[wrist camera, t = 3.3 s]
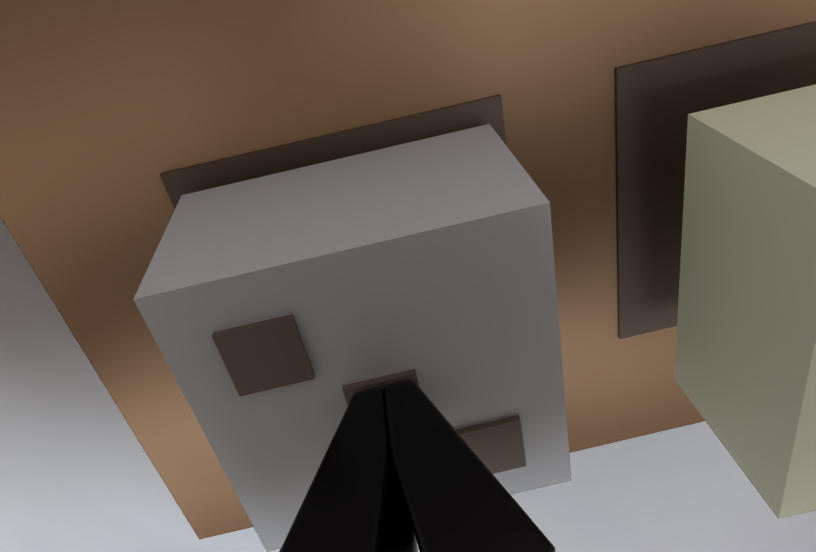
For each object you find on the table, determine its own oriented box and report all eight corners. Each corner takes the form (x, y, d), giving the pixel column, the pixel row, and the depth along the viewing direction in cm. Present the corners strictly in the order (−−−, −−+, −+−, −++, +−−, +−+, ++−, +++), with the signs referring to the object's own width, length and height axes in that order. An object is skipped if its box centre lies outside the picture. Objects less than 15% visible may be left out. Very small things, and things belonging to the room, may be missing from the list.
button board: (1233, 276, 15) (1271, 291, 15) (203, 518, 15) (199, 543, 14) (1669, -417, 9) (1766, -440, 8) (-108, -7, 9) (-139, 0, 8)
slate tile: (519, 361, 12) (573, 485, 10) (277, 418, 12) (266, 557, 10) (488, 123, 10) (552, 206, 7) (181, 195, 10) (131, 304, 7)
